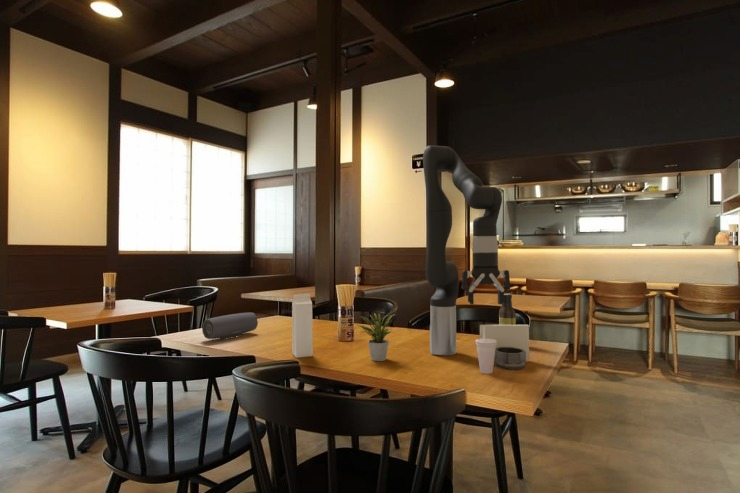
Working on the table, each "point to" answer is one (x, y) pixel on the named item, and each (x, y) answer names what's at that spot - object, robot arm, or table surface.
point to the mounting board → (508, 336)
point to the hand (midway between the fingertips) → (485, 304)
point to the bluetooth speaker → (229, 325)
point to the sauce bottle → (507, 312)
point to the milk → (302, 326)
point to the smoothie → (486, 353)
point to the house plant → (377, 338)
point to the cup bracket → (510, 358)
